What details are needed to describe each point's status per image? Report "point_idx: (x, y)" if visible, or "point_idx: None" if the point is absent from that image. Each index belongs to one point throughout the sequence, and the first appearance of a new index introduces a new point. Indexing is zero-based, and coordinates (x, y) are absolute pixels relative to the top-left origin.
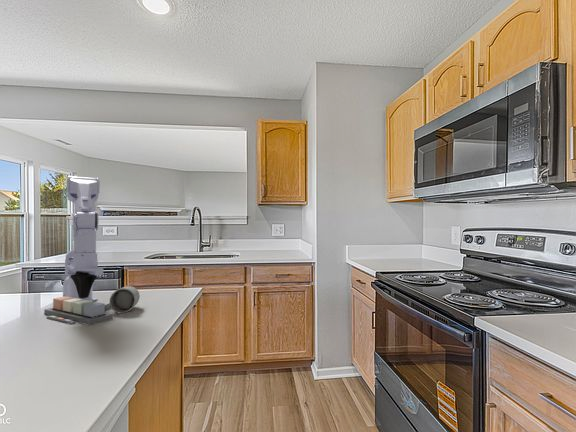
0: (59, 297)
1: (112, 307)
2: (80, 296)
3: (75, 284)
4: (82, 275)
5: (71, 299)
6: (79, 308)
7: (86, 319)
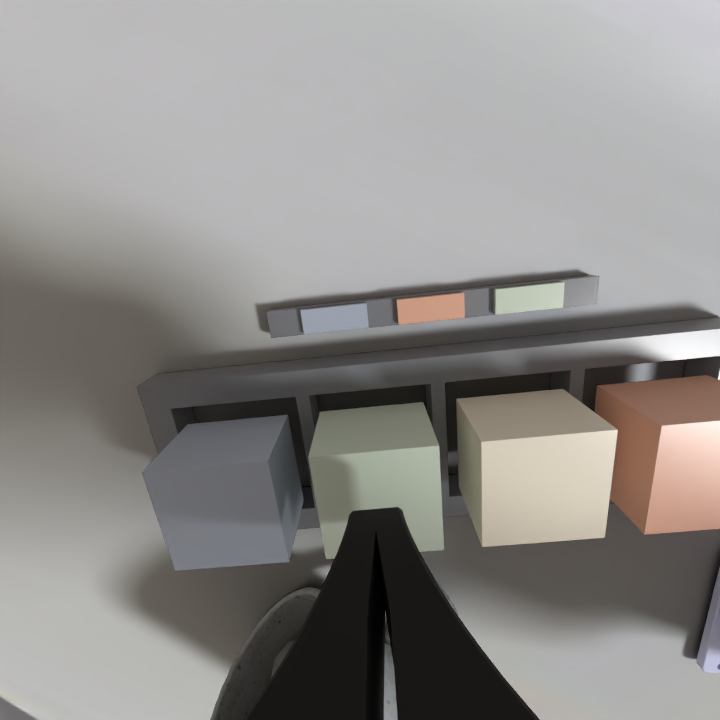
0: None
1: None
2: (363, 521)
3: (465, 651)
4: None
5: (582, 492)
6: (337, 432)
7: (180, 381)
